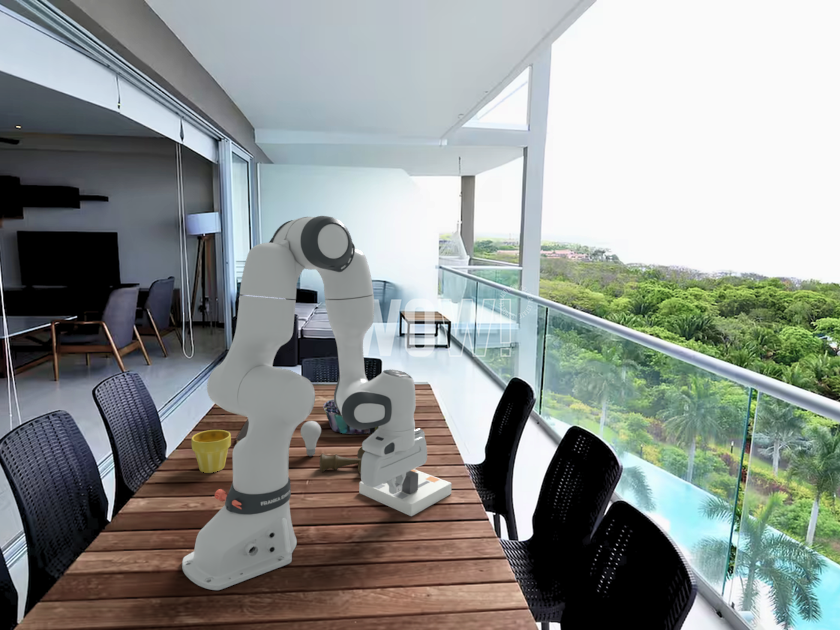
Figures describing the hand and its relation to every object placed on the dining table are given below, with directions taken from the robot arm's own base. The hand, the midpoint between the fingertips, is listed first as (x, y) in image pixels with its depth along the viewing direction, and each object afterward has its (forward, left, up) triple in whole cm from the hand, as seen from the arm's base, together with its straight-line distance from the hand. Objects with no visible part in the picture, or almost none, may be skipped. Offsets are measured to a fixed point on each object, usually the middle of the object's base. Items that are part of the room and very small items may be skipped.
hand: (395, 491), depth 125 cm
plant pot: (-18, +55, -5) cm, 58 cm away
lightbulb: (+7, +42, -5) cm, 43 cm away
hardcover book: (+10, +70, -6) cm, 71 cm away
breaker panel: (+8, +4, -5) cm, 10 cm away
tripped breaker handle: (+5, 0, -2) cm, 5 cm away
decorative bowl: (+37, +52, -5) cm, 64 cm away
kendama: (+10, +25, -5) cm, 27 cm away
